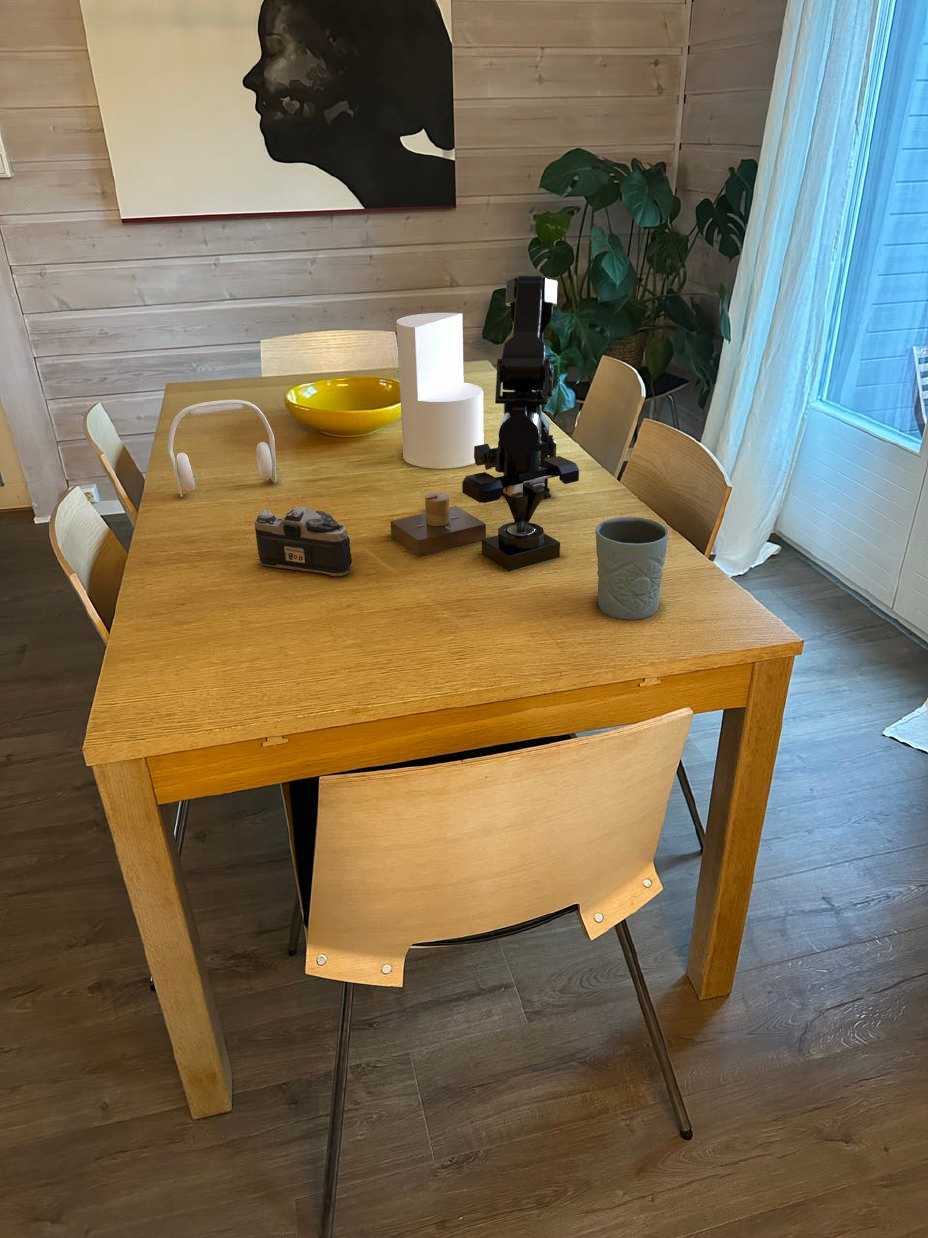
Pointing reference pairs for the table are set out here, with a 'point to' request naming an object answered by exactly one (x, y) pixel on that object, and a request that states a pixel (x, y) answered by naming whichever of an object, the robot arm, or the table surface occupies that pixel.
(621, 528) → the grey embossed cup
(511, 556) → the switch block
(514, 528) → the power button
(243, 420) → the table surface
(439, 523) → the volume knob
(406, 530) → the console
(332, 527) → the camera
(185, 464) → the headset
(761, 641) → the table surface
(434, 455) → the cylinder
